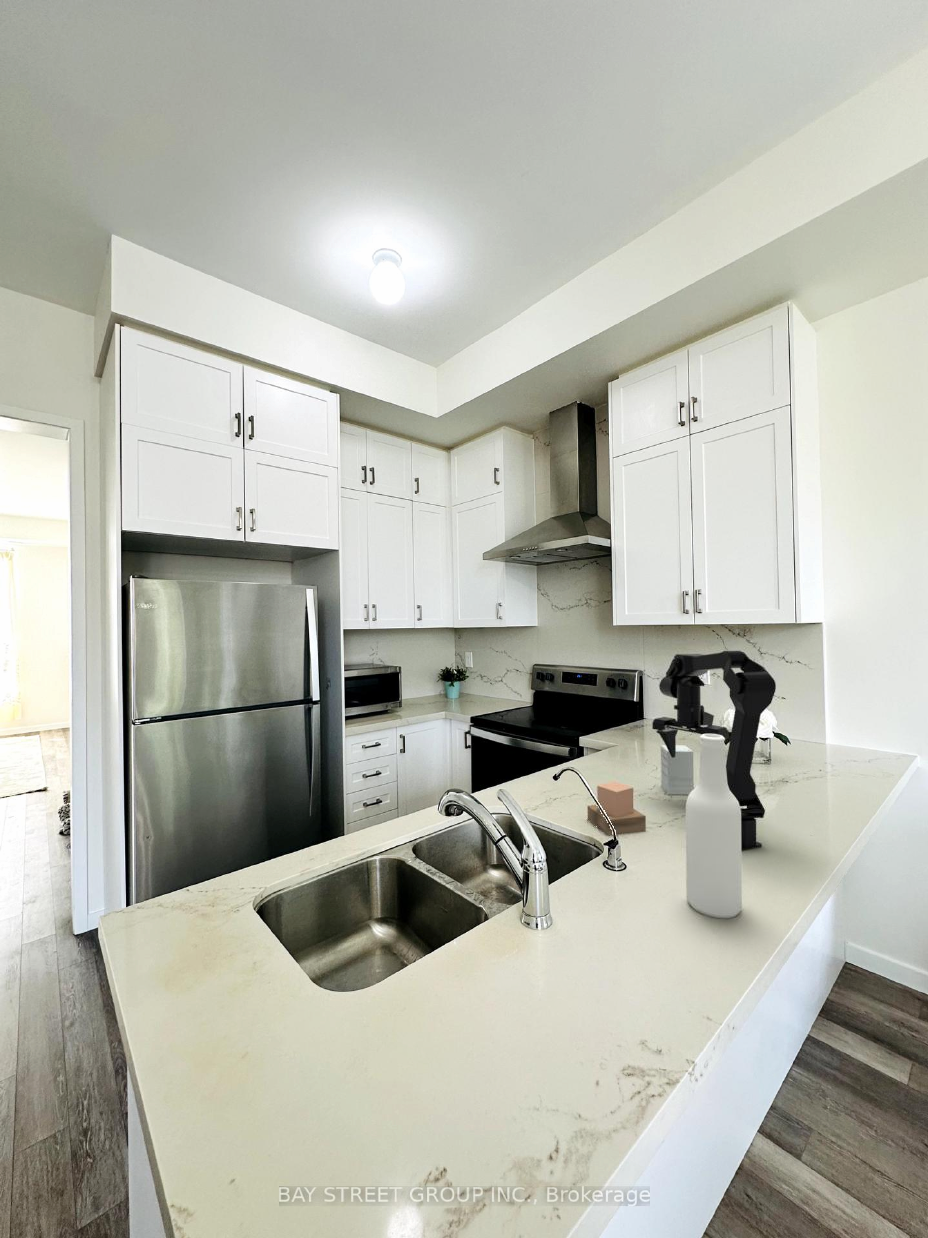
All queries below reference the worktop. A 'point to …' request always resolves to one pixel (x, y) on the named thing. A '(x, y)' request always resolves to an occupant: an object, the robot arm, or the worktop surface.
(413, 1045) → the worktop surface
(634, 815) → the walnut block
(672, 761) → the supplement box
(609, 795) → the terracotta cube
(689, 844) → the alcohol
